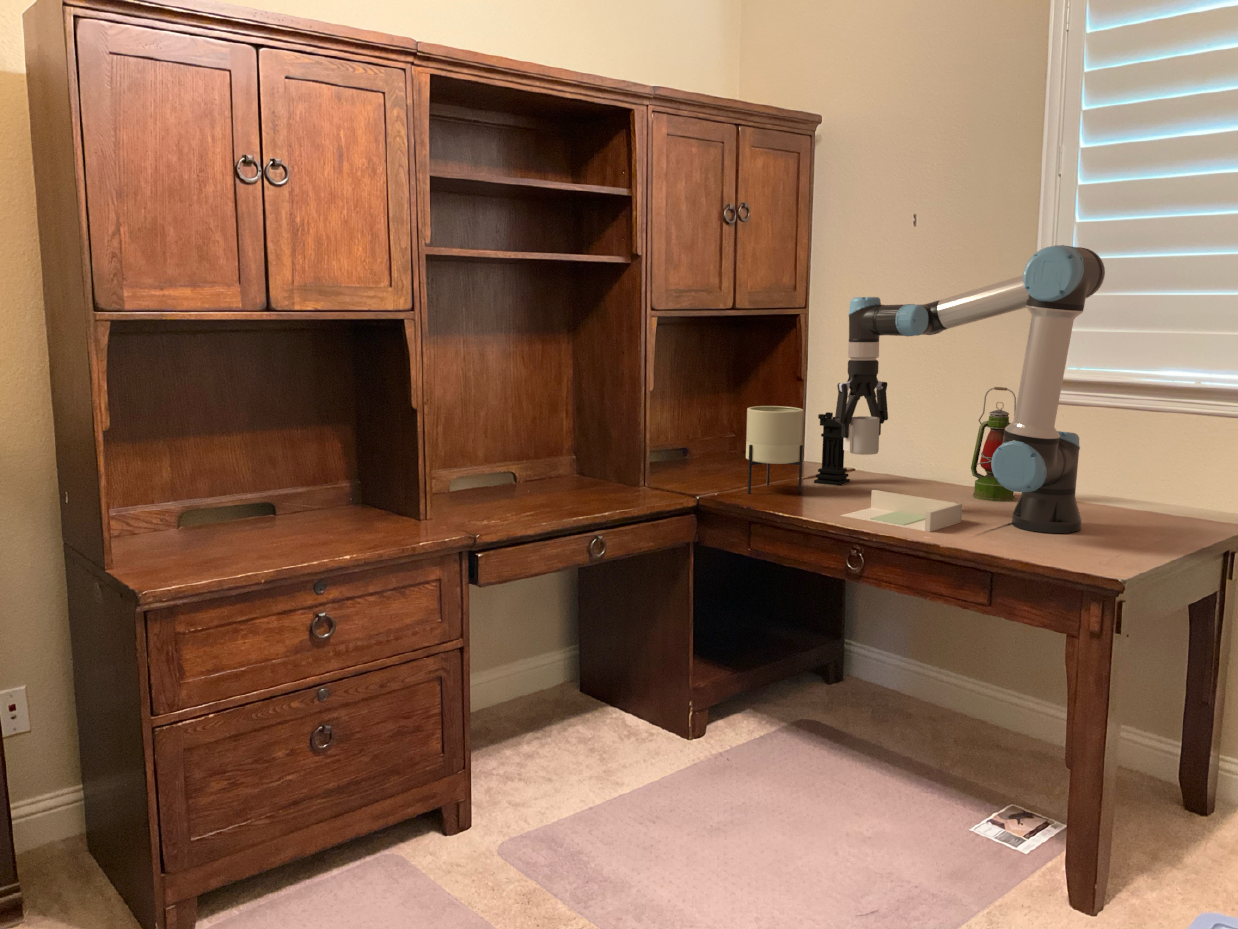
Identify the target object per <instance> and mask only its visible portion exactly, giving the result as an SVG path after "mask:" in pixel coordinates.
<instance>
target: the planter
mask: <svg viewBox="0 0 1238 929" xmlns="http://www.w3.org/2000/svg"><path fill="white" fill-rule="evenodd" d="M803 424H804V409H803V408H801V407H800V408H799V407H796V406H795V407H793V406H786V405H783V406H781V405H780V406H779V405H759V406H758V405H757V406H750V407H747V409H746V441H745V442H746V444H745V459H746V460H748V470H747V471H748V474H747V476H748V477H747V494H749V495H750V494H752V466H757V465H765V464H767V465H766V486H767V485H769V486H770V474H771V472H770V470H771V467H770V466H771V464H772V465H773V464H774V465H775V464H778V465H779V464H780V465H782V464H785V465H793V466H798V467H799V468H798V470H799V471H798V491H797V494H798V495H802V483H803V482H802V481H803V479H802V478H803V477H802V476H803V454H804V446H803V428H804V427H803Z"/></svg>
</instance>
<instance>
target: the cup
mask: <svg viewBox="0 0 1238 929" xmlns="http://www.w3.org/2000/svg"><path fill="white" fill-rule="evenodd" d="M850 425H853V438H852V451H849V453H850V454H852V455H862V456H863V455H866V456H868V455H870V456H871V455H878V453H879V450H880V436H879V417H871V416H866V415H865V416H863V415H862V416H861V415H860V416H859V415H858V416H853V417H852V420H851V422H850Z"/></svg>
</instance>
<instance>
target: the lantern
mask: <svg viewBox="0 0 1238 929" xmlns="http://www.w3.org/2000/svg"><path fill="white" fill-rule="evenodd" d="M992 390H995V391H1008V392H1010V393H1011V394H1012V395H1013V398H1014V399H1013V400H1014V405H1013V411H1014V412H1013V416H1014V415H1015V409H1016V404H1017V397H1016V395H1015V392H1014V391H1012V390H1011V389H1009V388H1007V387H1002V386H994V387H992V388H989V389H988V390H987V391H986V392H985V395H984V400H983V407H982V408H983V409H982V413H981V415H980V416H979V419H978V422H979V424H980V425H979V427H978V433H977V436H976V441H975V447H974V451H973V456H972V459H971V466H970V469H971V470H970V471H971V474H972V475H971V476H973V477H974V478H976V480H975V481H974V489H973V490H974V493H973V494H972V497H973V498H974V499H977V500H980V501H986V502H987V501H988V502H999V503H1000V502H1002V503H1003V502H1004V503H1005V502H1012V501H1014V500H1015V495H1014V491H1010V490H1008V489H1006V488H1005V487H1003V486H1002V485H1001V484H1000V483H999V482H998V481H997V479H996V478H995V477H994V474H993V472H992V467H991V461H992V457H993V454H994V452H995V451H996V449H997V448H998V447H999V446H1001V445H1002V443H1003V437H1004V431H1005V427H1007V426H1008V425H1010V424H1011V423H1012V422H1010V417H1009V416H1010V413H1009V412H1007V411H1006V410H1003V409H1004V403H1003V401H1001V402H999V401H997V402H995V403H996V404H995V407H996V410H993V411H990V412H988V414H989V416H988V420H985V421H983V422H982V421H981V419H982V417H983V416H984V414H985V410H986V409H985V408H986V400H987V395H988V394H989V392H991V391H992ZM998 404H1002V407H1001V408H999V407H998ZM986 428H989V429H990V430H989V432H988V434H987V437H986V439H985V442H984V443H983V438H984V434H985V429H986ZM982 443H983V449H982V451H981V448H982ZM980 456H981V457H980ZM979 458H980V461H979ZM978 462H979V463H978ZM978 465H980V467H981V468H982V469H983V470H984V472H985V473H986V475H983V474H981V473H979V472H978V470H977V469H978Z"/></svg>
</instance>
